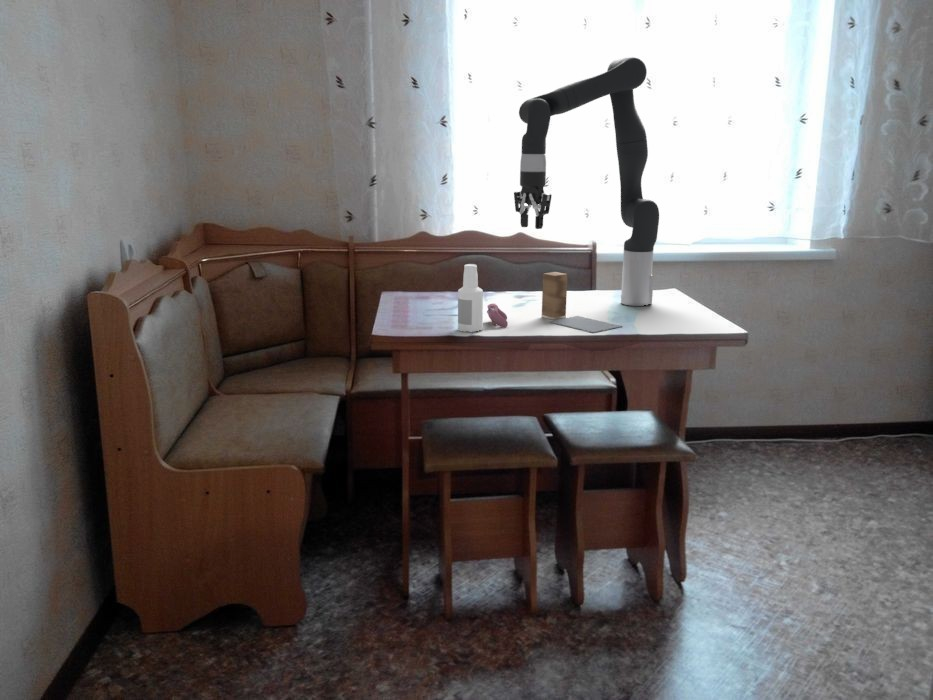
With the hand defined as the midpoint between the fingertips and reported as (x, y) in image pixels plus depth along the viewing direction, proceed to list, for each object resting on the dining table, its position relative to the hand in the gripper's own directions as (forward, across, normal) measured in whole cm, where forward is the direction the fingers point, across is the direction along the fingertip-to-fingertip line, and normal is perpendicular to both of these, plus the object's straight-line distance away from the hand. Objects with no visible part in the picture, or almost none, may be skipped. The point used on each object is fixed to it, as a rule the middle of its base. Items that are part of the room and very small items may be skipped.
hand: (531, 227), depth 237 cm
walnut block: (+25, -11, 0) cm, 28 cm away
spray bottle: (+26, -8, +30) cm, 40 cm away
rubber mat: (+25, -23, 0) cm, 35 cm away
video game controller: (+26, -7, +19) cm, 33 cm away
